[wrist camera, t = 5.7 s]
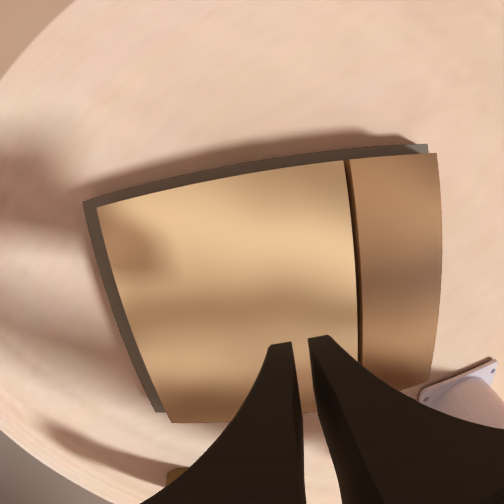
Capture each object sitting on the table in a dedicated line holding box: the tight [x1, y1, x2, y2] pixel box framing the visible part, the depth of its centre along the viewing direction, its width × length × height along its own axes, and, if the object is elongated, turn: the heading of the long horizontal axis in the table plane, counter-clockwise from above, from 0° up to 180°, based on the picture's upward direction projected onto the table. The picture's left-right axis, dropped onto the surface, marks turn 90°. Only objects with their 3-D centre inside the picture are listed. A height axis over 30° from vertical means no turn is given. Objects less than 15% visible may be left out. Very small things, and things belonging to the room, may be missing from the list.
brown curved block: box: [340, 153, 442, 391], centre depth 14 cm, size 13×4×2 cm, turn 10°
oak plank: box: [97, 160, 358, 423], centre depth 14 cm, size 13×11×2 cm
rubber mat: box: [83, 144, 429, 412], centre depth 16 cm, size 14×18×1 cm
